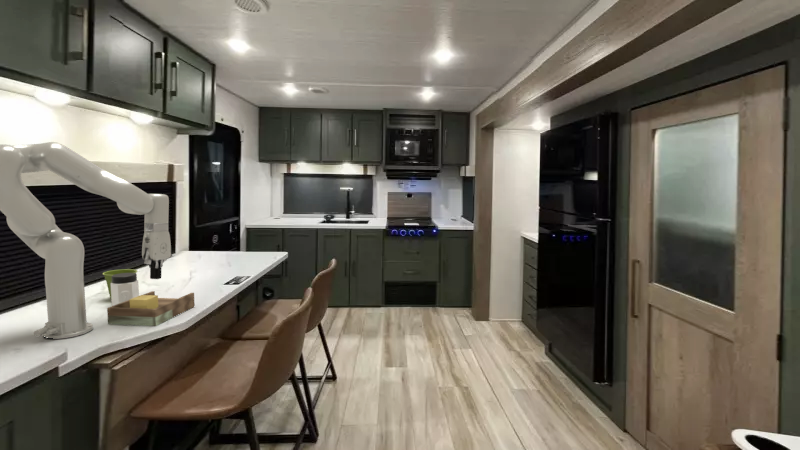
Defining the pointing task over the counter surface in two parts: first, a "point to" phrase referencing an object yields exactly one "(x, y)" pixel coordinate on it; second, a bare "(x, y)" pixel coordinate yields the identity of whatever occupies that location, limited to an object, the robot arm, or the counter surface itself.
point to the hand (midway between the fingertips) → (155, 278)
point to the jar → (124, 287)
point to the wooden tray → (149, 311)
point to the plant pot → (109, 274)
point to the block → (144, 302)
